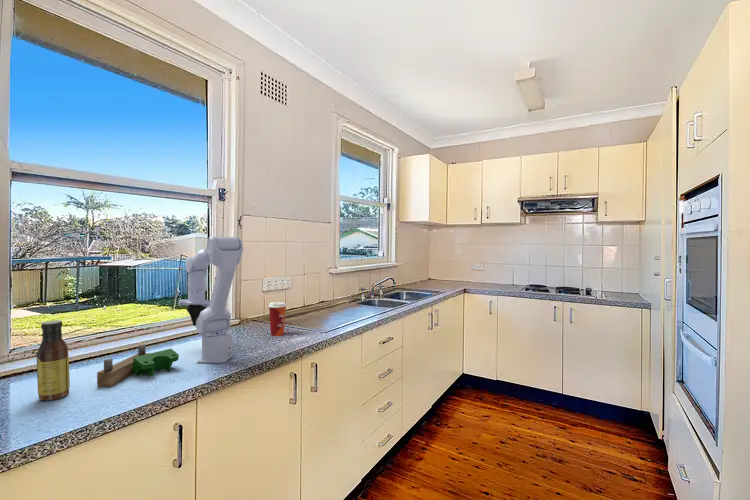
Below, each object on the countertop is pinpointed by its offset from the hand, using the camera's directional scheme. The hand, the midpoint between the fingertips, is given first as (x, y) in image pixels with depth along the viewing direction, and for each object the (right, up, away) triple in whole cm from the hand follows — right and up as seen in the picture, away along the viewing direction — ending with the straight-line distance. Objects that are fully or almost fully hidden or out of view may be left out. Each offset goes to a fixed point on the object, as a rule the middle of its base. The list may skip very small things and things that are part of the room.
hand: (196, 325), depth 136 cm
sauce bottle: (-17, -10, -41) cm, 46 cm away
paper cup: (+24, -9, +25) cm, 36 cm away
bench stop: (-9, -10, -25) cm, 29 cm away
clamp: (-1, -10, -23) cm, 25 cm away
